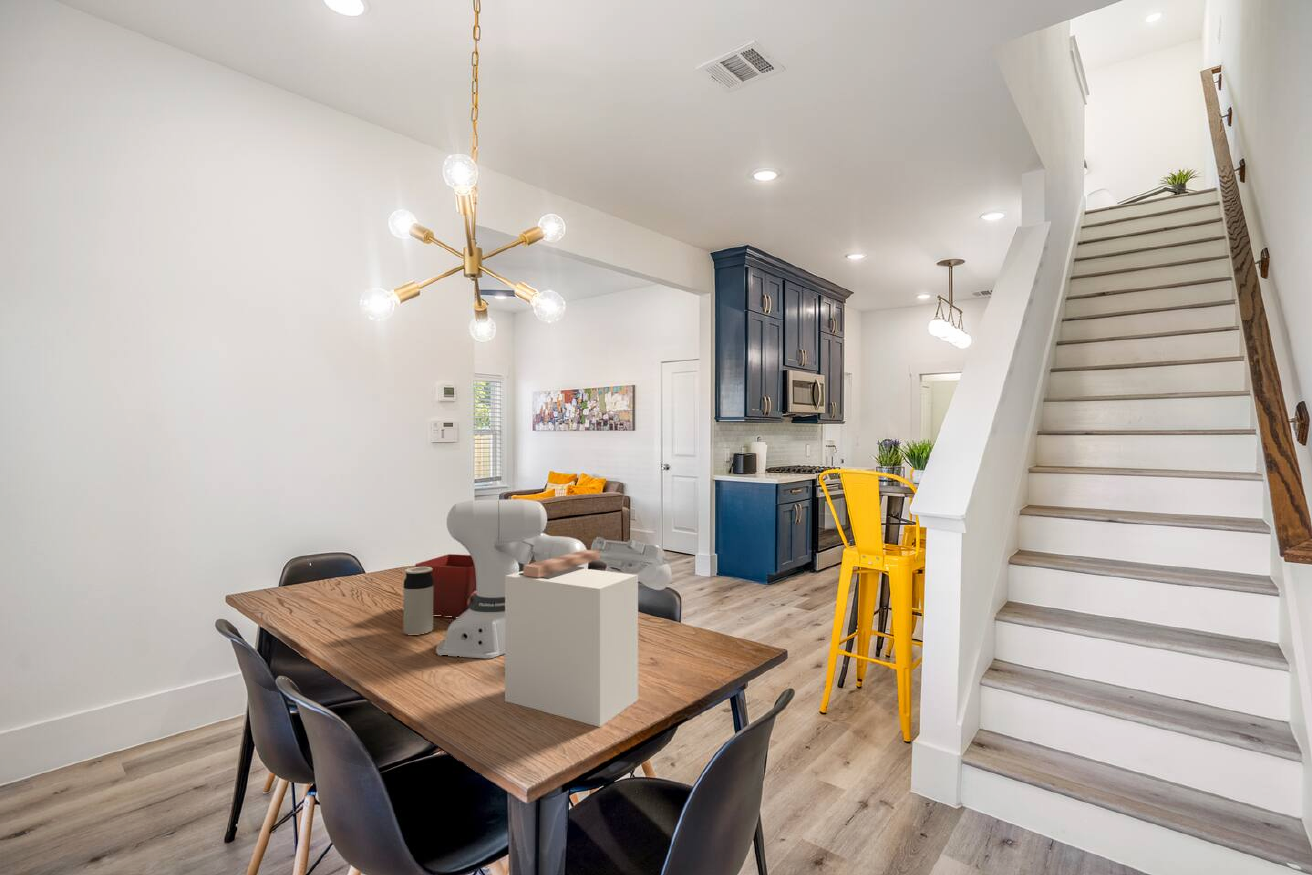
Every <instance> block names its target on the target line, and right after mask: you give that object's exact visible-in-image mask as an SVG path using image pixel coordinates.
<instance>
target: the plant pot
mask: <svg viewBox="0 0 1312 875" xmlns="http://www.w3.org/2000/svg"><path fill="white" fill-rule="evenodd" d="M414 565H415V567H431V568H432V569H433V570H432V571H431V576H432V578H433V615H441V616H452V617H459V616H460V615H461V614H462V613H464V612H465V611H466V610H467V609H469V604H467V603H468V601H467V600H468V599H469V597H470V596H471V594H472V593H473V592H474V591H476V573H475V566H474V562H473V559H472V557H471V555H470V554H468V555H467V554H453V553H451V554H450V553H449V554H445V555H441V556H438V557H435V558H431V559H427V560H424V561H421V562H418V563H415V564H414Z"/></svg>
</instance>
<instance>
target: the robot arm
mask: <svg viewBox="0 0 1312 875" xmlns="http://www.w3.org/2000/svg"><path fill="white" fill-rule="evenodd" d="M547 524H548V514H547V511H546V509H545V507H544V505H543V504H542V503H541V502H540V501H536V500H531V499H526V498H525V499H524V498H509V499H473V500H467V501H463V502H459V503H458V502H457V503H455V504H453V506H452V507H451V509H449V511H448V514H447V517H446V527H447V531H448V533H449V535H450V536H451V537H452V538H453V539H454V540H455V541H457V542H458V543H460V544H461V545H462V546H463V547H464V548H465V549H466V550H467V552H468V554H469V555H471V557H472V559H473V562H474V566H475V573H476V591H474V592H473V593H472V594H471V596H470V597H469V599H468V600H467V601H468V603H467V604H469V609H467V610H466V611H465V612H464V613H462V614H461V615H460V616H459V617H458V618H454V620H453V621H451V623H450V624H449V626H448V628H447V630H446V633H445V634H446V635H445V639H443V640H442V641H440V642H439V643H438V644H437V646H436V648H435V653H437V654H438V655H437V654H436V655H437V656H442V655H448V656H447V657H457V656H459V657H460V658H473V659H474V658H476V659H492V658H496V657H498V656H501V655H505V576H507V575H510V574H514V573H518V572H522V571H523V566H524V565H528V564H530V562H531V560H532V558H534V560H535V563H536V562H540V561H544V560H548V559H552V558H556V557H560V556H564V555H567V554H571V553H575V552H579V551H583V550H588V549H587V546H586V545H585V544H584V543H583V542H582V541H581V540H580V539H577V538H574V537H569V536H560V535H557V536H556V535H555V536H554V535H549V534H547V533H545V531H548V530H549V527H548V526H547ZM590 550H594V551H600V561H601V562H602V563H605V565H606V568H605V570H604V571H609V572H617V573H625V574H634V575H638V582H640V583H641V584H642V585H644V586H645V587H648V588H650V589H652V590H655V591H662V590H664V589H666V588H667V586H668V585H669V584H670V582H671V580H672V576H673V573H672V569H671V567H670V565H669V564H670V563H671V562H670V559H669V558H668V557H666V553H665V551H664V549H662V548H661V547H660V546H659V545H657V544H648V543H644V542H643V543H642V542H637V541H635V540H633V539H628V540H627V541H618V540H607V539H605V538H603V536H601V537H600V536H596V538H595V539H593V541H592V543H591V546H590ZM578 567H584V569H589V563H586V564H583V565H579V566H578Z"/></svg>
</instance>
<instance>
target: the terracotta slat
mask: <svg viewBox="0 0 1312 875" xmlns="http://www.w3.org/2000/svg"><path fill="white" fill-rule="evenodd" d="M599 560H600V551H594V550H591V549H587V550H583V551H579V552H575V553H571V554H567V555H564V556H560V557H556V558H552V559H548V560H544V561H540V562H536V561H535V562H533V563H529V564H528V565H524V566H523V575H524V576H532V577H542V576H545V575H548V574H552V573H555V572H559V571H562V570H566V569H569V568H573V567H576V566H579V565H583V564H586V563H588V564H589V563H592V562H597V561H599ZM600 561H601V560H600Z"/></svg>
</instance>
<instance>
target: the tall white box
mask: <svg viewBox="0 0 1312 875" xmlns="http://www.w3.org/2000/svg"><path fill="white" fill-rule="evenodd" d="M638 700H639V580H638V575H634V574H625V573H617V572H609V571H605V570H599V569H593V568H590V569H589V568H588V569H584V567H578V566H576V567H573V568H569V569H566V570H562V571H559V572H555V573H552V574H548V575H545V576H542V577H532V576H524V575H523V571H522V572H518V573H514V574H510V575H507V576H505V654H504V701H505V702H507V703H511V704H516V705H519V706H522V707H526V708H530V709H534V710H537V711H540V712H544V713H547V714H552V715H556V716H558V717H563V718H566V719H568V720H569V719H570V720H573V721H577V722H580V723H585V724H587V725H591V726H595V727H599V728H601V727H603V726H604V725H605V724H607V723H608V722H610V720H612V719H613V718H615V717H616V716H617V715H619V714H620V713H622V712H623V711H624V710H626V709H627V708H629V707H630V706H632V705H633V704H634V703H635V702H637V701H638Z"/></svg>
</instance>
